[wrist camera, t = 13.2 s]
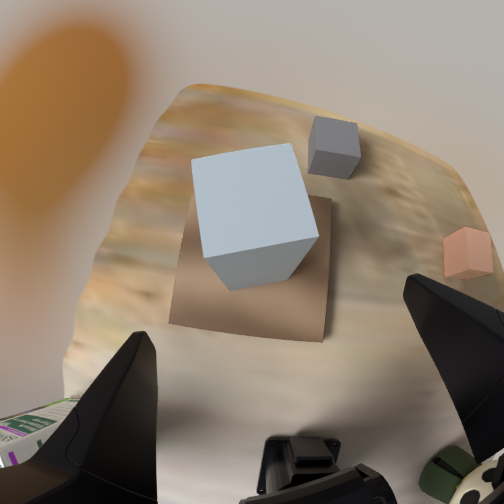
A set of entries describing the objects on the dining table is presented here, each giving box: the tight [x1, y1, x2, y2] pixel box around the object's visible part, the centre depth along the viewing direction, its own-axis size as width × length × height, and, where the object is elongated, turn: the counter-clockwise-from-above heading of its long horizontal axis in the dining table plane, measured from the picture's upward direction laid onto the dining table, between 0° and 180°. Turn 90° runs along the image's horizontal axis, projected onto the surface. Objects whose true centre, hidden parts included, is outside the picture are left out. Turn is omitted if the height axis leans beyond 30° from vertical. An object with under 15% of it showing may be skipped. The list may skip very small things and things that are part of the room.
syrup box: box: [0, 398, 80, 468], centre depth 12 cm, size 6×6×14 cm
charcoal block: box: [308, 116, 361, 179], centre depth 23 cm, size 4×4×4 cm
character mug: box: [419, 446, 498, 504], centre depth 10 cm, size 11×7×13 cm, turn 128°
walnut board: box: [169, 187, 331, 343], centre depth 22 cm, size 12×12×1 cm
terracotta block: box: [443, 227, 494, 280], centre depth 21 cm, size 4×4×4 cm
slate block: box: [191, 143, 319, 291], centre depth 16 cm, size 4×4×11 cm
